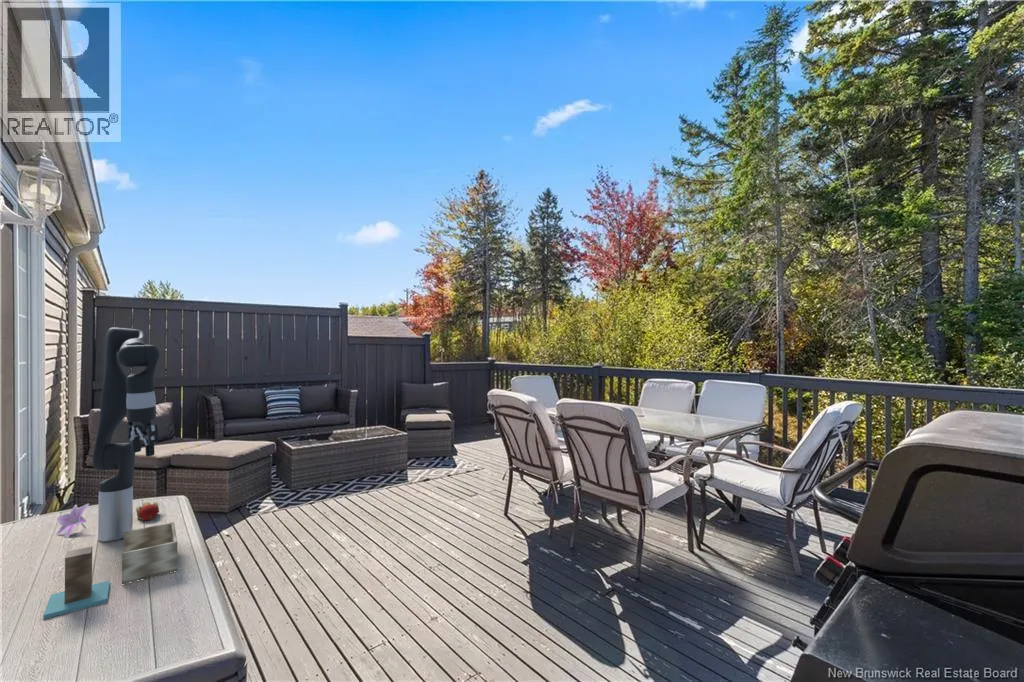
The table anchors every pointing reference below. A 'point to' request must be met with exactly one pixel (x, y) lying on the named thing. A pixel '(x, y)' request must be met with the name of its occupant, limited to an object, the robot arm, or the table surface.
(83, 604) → the mat
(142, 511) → the kendama
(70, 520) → the lily
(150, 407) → the robot arm
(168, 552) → the crate
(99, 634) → the table surface
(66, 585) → the walnut block
